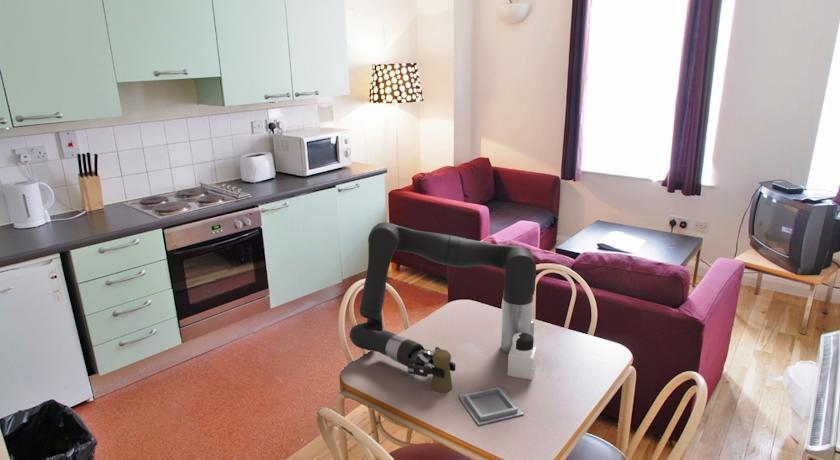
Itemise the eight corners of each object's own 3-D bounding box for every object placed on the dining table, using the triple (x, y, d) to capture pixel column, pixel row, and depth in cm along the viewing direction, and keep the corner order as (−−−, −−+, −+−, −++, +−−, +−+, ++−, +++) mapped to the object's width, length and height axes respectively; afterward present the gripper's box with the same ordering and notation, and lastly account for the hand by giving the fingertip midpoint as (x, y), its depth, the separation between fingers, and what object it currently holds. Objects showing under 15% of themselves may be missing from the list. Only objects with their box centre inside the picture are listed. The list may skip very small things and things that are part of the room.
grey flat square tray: (501, 388, 156) (501, 383, 156) (523, 415, 145) (523, 410, 144) (458, 397, 152) (458, 392, 152) (478, 425, 141) (478, 421, 140)
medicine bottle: (535, 367, 166) (537, 332, 163) (531, 380, 160) (533, 343, 156) (511, 363, 169) (513, 328, 165) (507, 376, 162) (508, 339, 158)
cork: (450, 393, 154) (450, 358, 151) (429, 391, 155) (429, 356, 152) (453, 381, 160) (454, 347, 156) (433, 379, 161) (433, 345, 158)
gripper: (387, 349, 158) (433, 370, 148) (419, 330, 169) (465, 349, 158) (388, 372, 161) (433, 394, 150) (420, 352, 171) (464, 372, 160)
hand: (449, 371), depth 154 cm, fingers closed on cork, 4 cm apart
